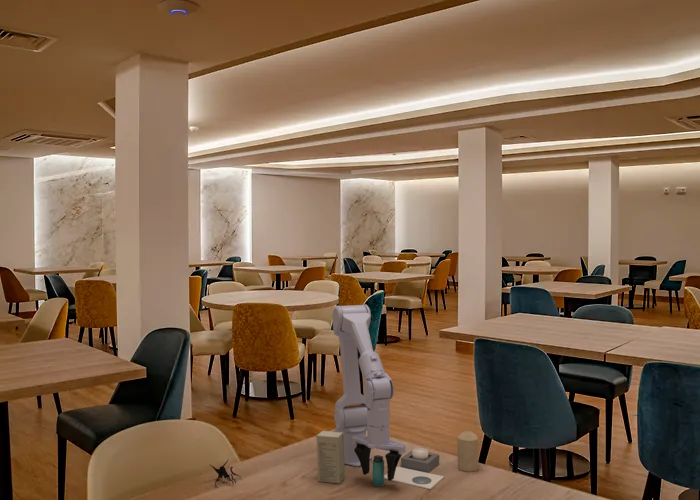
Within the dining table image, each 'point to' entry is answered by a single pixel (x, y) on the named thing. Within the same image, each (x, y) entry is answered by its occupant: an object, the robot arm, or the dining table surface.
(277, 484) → the dining table surface
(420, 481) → the paper
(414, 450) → the button
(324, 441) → the skincare box
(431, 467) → the button housing
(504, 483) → the dining table surface
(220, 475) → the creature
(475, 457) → the candle
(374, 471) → the bottle
